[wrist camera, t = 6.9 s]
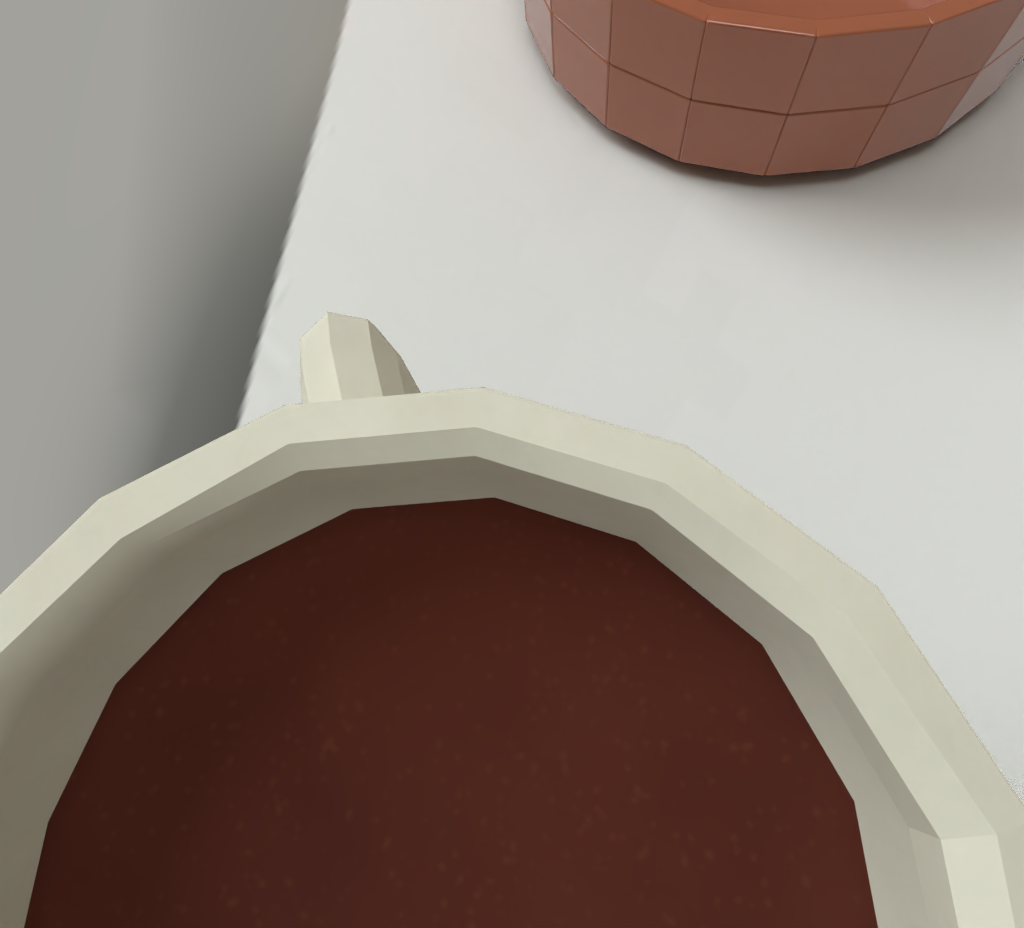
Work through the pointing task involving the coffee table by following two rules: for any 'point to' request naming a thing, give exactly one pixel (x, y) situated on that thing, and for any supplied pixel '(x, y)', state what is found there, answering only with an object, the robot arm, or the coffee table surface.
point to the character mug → (473, 691)
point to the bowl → (779, 73)
